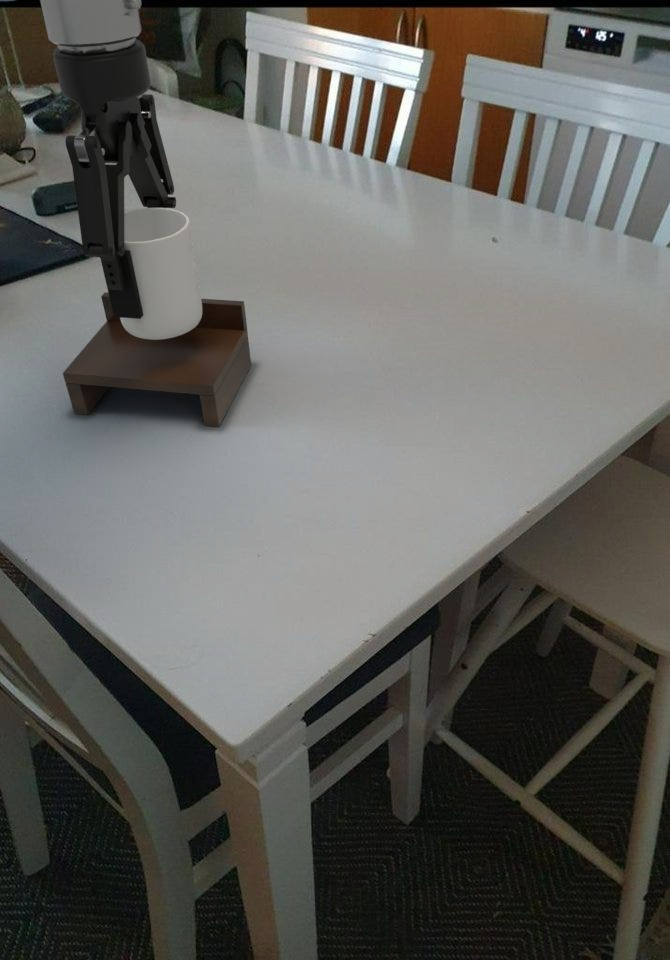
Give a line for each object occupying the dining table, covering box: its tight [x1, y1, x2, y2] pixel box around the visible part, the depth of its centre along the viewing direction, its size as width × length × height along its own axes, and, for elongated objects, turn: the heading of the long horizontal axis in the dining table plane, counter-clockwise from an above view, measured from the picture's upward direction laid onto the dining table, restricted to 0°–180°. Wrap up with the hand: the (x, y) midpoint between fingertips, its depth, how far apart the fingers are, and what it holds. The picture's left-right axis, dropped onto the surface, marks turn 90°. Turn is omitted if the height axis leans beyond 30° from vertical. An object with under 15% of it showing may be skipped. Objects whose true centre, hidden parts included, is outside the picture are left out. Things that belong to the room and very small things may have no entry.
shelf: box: [62, 292, 252, 428], centre depth 86 cm, size 16×12×8 cm
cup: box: [120, 207, 202, 340], centre depth 80 cm, size 8×12×10 cm
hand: (147, 293), depth 81 cm, fingers closed on cup, 9 cm apart
